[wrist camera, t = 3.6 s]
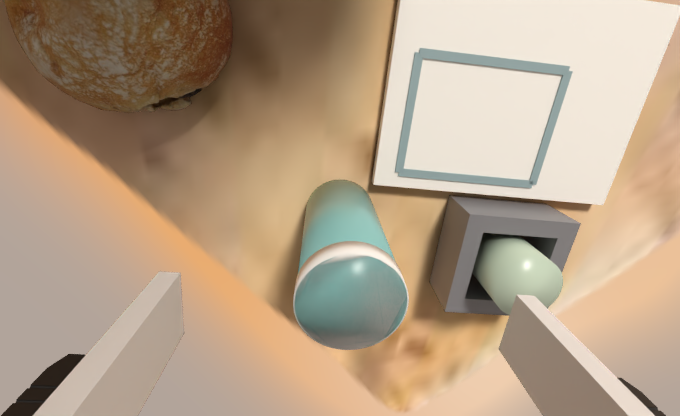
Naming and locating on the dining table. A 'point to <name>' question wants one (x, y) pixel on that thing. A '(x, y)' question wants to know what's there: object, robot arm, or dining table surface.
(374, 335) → the white-capped teal capsule
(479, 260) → the button
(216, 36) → the bread roll
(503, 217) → the button housing
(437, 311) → the dining table surface
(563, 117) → the sheet
